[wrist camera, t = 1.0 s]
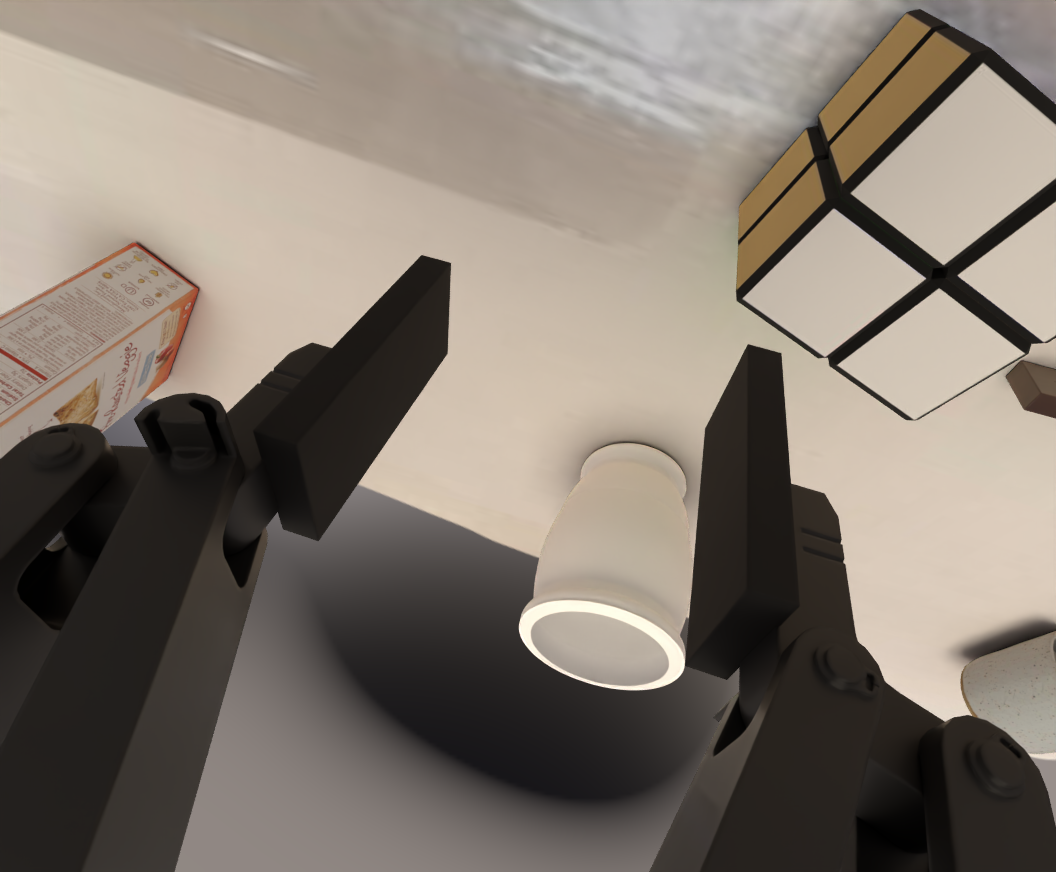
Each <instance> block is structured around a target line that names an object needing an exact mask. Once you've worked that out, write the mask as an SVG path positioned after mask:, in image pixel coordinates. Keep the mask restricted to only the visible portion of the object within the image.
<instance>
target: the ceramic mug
mask: <svg viewBox="0 0 1056 872" xmlns="http://www.w3.org/2000/svg"><path fill="white" fill-rule="evenodd" d="M960 683H961V690H962V695H963V698H964V700H965V703H966V705H967V707H968V709H969V711H970V713H971V714H972V716H973V717H977V718H980V719H984V720H987V721H989V722H990V723H992V724H994V725H995V726H997V727H999V728H1000V729H1002V730H1004V731H1005V732H1007V733H1008V734H1009V735H1010V736H1011V737H1012V738H1013V739H1014V740H1015V741H1016V742H1017V743H1018V744H1019V745H1020V746H1022V747H1023V748H1024V749H1025V751H1026V752H1027V753H1031V754H1044V753H1054V752H1056V631H1054V632H1051V633H1048V634H1045V635H1043V636H1040V637H1037V638H1034V639H1031V640H1028V641H1025V642H1022V643H1019V644H1016V645H1014V646H1011V647H1008V648H1006V649H1003V650H1000V651H996V652H993V653H990V654H987V655H984V656H982V657H979V658H977V659H975V660H974V661H972V662H970V663H969V664H968V665H967V666H965V668H964V669H963V671H962V674H961V682H960Z"/></svg>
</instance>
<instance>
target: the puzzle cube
mask: <svg viewBox="0 0 1056 872" xmlns="http://www.w3.org/2000/svg"><path fill="white" fill-rule="evenodd" d="M736 297H737V301H738V302H739V303H741V304H742V305H744V306H745V307H746V308H748V309H749V310H751V311H752V312H753V313H755V314H756V315H758V316H759V317H761V318H762V319H763V320H765V321H766V322H768V323H769V324H770V325H772V326H773V327H775V328H776V329H778V330H779V331H780V332H782V333H783V334H785V335H786V336H787V337H789V338H790V339H792V340H793V341H795V342H796V343H797V344H799V345H800V346H802V347H803V348H804V349H806V350H807V351H809V352H810V353H811V354H813V355H814V356H816V357H817V358H828V360H829V366H830V367H832V368H833V369H835V370H836V371H837V372H839V373H840V374H842V375H843V376H844V377H846V378H847V379H849V380H850V381H852V382H853V383H854V384H856V385H857V386H859V387H860V388H861V389H863V390H864V391H866V392H867V393H868V394H870V395H871V396H873V397H874V398H876V399H877V400H878V401H880V402H881V403H883V404H884V405H885V406H887V407H888V408H890V409H891V410H893V411H894V412H895V413H897V414H898V415H900V416H901V417H902V418H904V419H905V420H919V419H920V418H922V417H924V416H925V415H927V414H929V413H930V412H932V411H934V410H935V409H937V408H939V407H940V406H942V405H944V404H945V403H947V402H949V401H950V400H952V399H954V398H955V397H957V396H959V395H960V394H962V393H964V392H965V391H967V390H969V389H970V388H972V387H974V386H975V385H977V384H979V383H980V382H982V381H984V380H985V379H987V378H989V377H990V376H992V375H994V374H995V373H997V372H999V371H1000V370H1002V369H1004V368H1005V367H1007V366H1009V365H1010V364H1012V363H1014V362H1015V361H1017V360H1019V359H1020V358H1022V357H1024V356H1025V355H1027V354H1028V353H1029V350H1030V347H1031V343H1032V344H1037V343H1048V342H1050V341H1051V340H1053V339H1055V338H1056V104H1055V103H1053V102H1052V101H1051V100H1050V99H1049V98H1048V97H1046V96H1045V95H1044V94H1043V93H1042V92H1041V91H1039V90H1038V89H1037V88H1036V87H1035V86H1034V85H1033V84H1031V83H1030V82H1029V81H1028V80H1027V79H1026V78H1024V77H1023V76H1022V75H1021V74H1020V73H1019V72H1018V71H1016V70H1015V69H1014V68H1013V67H1012V66H1011V65H1009V64H1008V63H1007V62H1006V61H1005V60H1004V59H1002V58H1001V57H1000V56H999V55H998V54H997V53H996V52H994V51H993V50H992V49H991V48H989V47H987V46H985V45H984V44H982V43H980V42H978V41H977V40H975V39H973V38H971V37H969V36H968V35H966V34H964V33H962V32H961V31H959V30H957V29H955V28H953V27H950V26H949V25H948V24H947V23H945V22H943V21H941V20H939V19H937V18H936V17H934V16H932V15H930V14H928V13H926V12H924V11H922V10H920V9H918V10H915V11H911V12H907V13H906V14H905V15H904V16H903V17H902V18H901V20H900V21H899V22H898V23H897V24H896V25H895V27H894V28H893V29H892V30H891V31H890V32H889V34H888V35H887V36H886V37H885V38H884V39H883V41H882V42H881V43H880V44H879V45H878V46H877V47H876V49H875V50H874V51H873V52H872V53H871V54H870V56H869V57H868V58H867V59H866V60H865V61H864V63H863V64H862V65H861V66H860V67H859V68H858V69H857V71H856V72H855V73H854V74H853V75H852V76H851V78H850V79H849V80H848V81H847V82H846V83H845V85H844V86H843V87H842V88H841V89H840V90H839V92H838V93H837V94H836V95H835V96H834V97H833V98H832V100H831V101H830V102H829V103H828V104H827V105H826V107H825V108H824V109H823V110H822V111H821V112H820V114H819V115H818V127H817V126H816V127H811V128H807V129H806V130H805V131H804V132H803V133H802V134H801V135H800V137H799V138H798V139H797V140H796V141H795V142H794V144H793V145H792V146H791V147H790V148H789V149H788V150H787V152H786V153H785V154H784V155H783V156H782V157H781V159H780V160H779V161H778V162H777V163H776V164H775V166H774V167H773V168H772V169H771V170H770V171H769V172H768V174H767V175H766V176H765V177H764V178H763V179H762V181H761V182H760V183H759V184H758V185H757V186H756V188H755V189H754V190H753V191H752V192H751V193H750V195H749V196H748V197H747V198H746V199H745V200H744V201H743V203H742V204H741V205H740V206H739V227H738V262H737V284H736Z"/></svg>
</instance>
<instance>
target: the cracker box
mask: <svg viewBox="0 0 1056 872" xmlns="http://www.w3.org/2000/svg"><path fill="white" fill-rule="evenodd" d="M197 293H198V288H196V287H195V286H194V285H192V284H191V283H190V282H188V281H187V280H185V279H184V278H183V277H181V276H180V275H179V274H177V273H176V272H174V271H173V270H172V269H170V268H169V267H168V266H166V265H165V264H164V263H162V262H161V261H160V260H158V259H157V258H156V257H154V256H153V255H151V254H150V253H149V252H147V251H146V250H145V249H143V248H142V247H141V246H139V245H138V244H136V243H132V244H130V245H128V246H126V247H124V248H123V249H121V250H119V251H117V252H115V253H113V254H112V255H110V256H108V257H107V258H105V259H103V260H101V261H99V262H97V263H95V264H93V265H91V266H90V267H88V268H86V269H84V270H82V271H81V272H79V273H77V274H75V275H73V276H72V277H70V278H68V279H66V280H64V281H62V282H61V283H59V284H57V285H55V286H53V287H52V288H50V289H48V290H46V291H44V292H42V293H41V294H39V295H37V296H35V297H33V298H31V299H30V300H28V301H26V302H24V303H22V304H20V305H19V306H17V307H15V308H13V309H11V310H9V311H7V312H6V313H4V314H2V315H0V459H1V458H2V457H3V456H4V455H5V454H6V453H8V452H9V451H10V450H11V449H12V448H13V447H14V446H16V445H17V444H18V443H19V442H21V441H22V440H24V439H25V438H27V437H28V436H30V435H31V434H33V433H35V432H37V431H40V430H43V429H45V428H48V427H50V426H55V425H61V424H67V423H80V424H88V425H90V426H93V427H95V428H98V429H99V430H100V431H101V433H102V432H104V431H105V430H106V429H107V428H109V427H110V426H111V425H112V424H113V423H114V422H116V421H117V420H118V419H119V418H121V417H122V416H123V415H124V414H126V413H127V412H128V411H129V410H130V409H132V408H133V407H134V406H135V405H137V404H138V403H139V402H140V401H142V400H143V399H144V398H145V397H146V396H148V395H149V394H150V393H151V392H153V391H154V390H155V389H156V388H157V387H159V386H160V385H161V384H162V383H163V382H165V381H166V380H167V379H168V375H169V373H170V370H171V367H172V364H173V361H174V358H175V355H176V353H177V350H178V347H179V344H180V341H181V338H182V336H183V333H184V330H185V327H186V324H187V321H188V318H189V316H190V313H191V310H192V307H193V305H194V302H195V299H196V296H197Z"/></svg>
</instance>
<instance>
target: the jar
mask: <svg viewBox="0 0 1056 872" xmlns="http://www.w3.org/2000/svg"><path fill="white" fill-rule="evenodd" d="M685 493H686V479H685V476H684V473H683V471H682V470H681V468H680V467H679V465H678V464H677V463H676V462H675V461H674V460H673V459H672V458H670V457H669V456H668V455H666V454H665V453H663V452H661V451H659V450H657V449H654V448H652V447H649V446H645V445H641V444H634V443H620V444H613V445H609V446H605V447H603V448H601V449H599V450H597V451H595V452H594V453H592V454H591V455H590V456H589V457H588V458H587V460H586V461H585V462H584V464H583V467H582V470H581V480H580V481H579V482H578V483H577V485H576V486H575V487H574V488H573V490H572V491H571V493H570V494H569V496H568V497H567V499H566V501H565V503H564V505H563V507H562V509H561V511H560V512H559V514H558V516H557V517H556V519H555V521H554V523H553V525H552V527H551V529H550V531H549V533H548V535H547V538H546V540H545V543H544V545H543V548H542V551H541V555H540V558H539V562H538V567H537V572H536V578H535V585H534V599H533V600H531V601H530V602H529V603H528V604H527V605H526V607H525V608H524V610H523V612H522V615H521V619H520V623H519V632H520V636H521V638H522V640H523V642H524V643H525V645H526V646H527V647H528V648H529V650H530V651H531V652H532V653H533V654H534V655H535V656H537V657H538V658H539V659H540V660H541V661H543V662H544V663H546V664H547V665H549V666H550V667H552V668H554V669H556V670H558V671H559V672H561V673H564V674H566V675H568V676H570V677H573V678H576V679H578V680H581V681H584V682H587V683H590V684H594V685H598V686H602V687H607V688H614V689H622V690H646V689H653V688H658V687H661V686H664V685H667V684H669V683H671V682H673V681H674V680H676V679H677V678H678V677H679V676H680V675H681V674H682V672H683V669H684V665H685V649H684V644H683V641H682V639H681V637H680V633H681V630H682V628H683V625H684V622H685V619H686V615H687V611H688V607H689V602H690V596H691V589H692V577H693V563H692V551H691V545H690V539H689V523H688V517H687V512H686V509H685V506H684V503H683V501H682V500H683V498H684V496H685Z"/></svg>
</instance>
